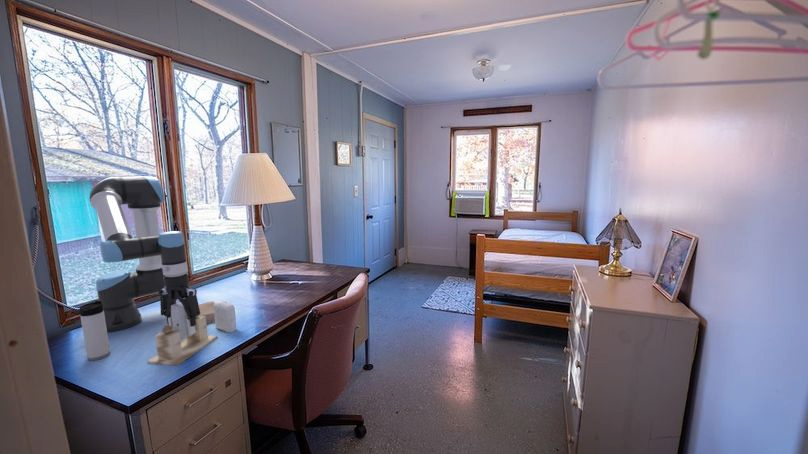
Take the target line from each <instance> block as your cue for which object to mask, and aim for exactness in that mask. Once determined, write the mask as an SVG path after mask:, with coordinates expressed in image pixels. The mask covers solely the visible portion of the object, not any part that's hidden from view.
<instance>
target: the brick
mask: <svg viewBox="0 0 808 454" xmlns="http://www.w3.org/2000/svg"><path fill="white" fill-rule="evenodd" d="M214 304H215V301H208V302H207V301H206V302H204V303H200V304H199V303H198V305H199V310H200V315H198V316H206V324H207V325H208V324H210V323H215V316H214Z"/></svg>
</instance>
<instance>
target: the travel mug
mask: <svg viewBox="0 0 808 454" xmlns="http://www.w3.org/2000/svg"><path fill="white" fill-rule="evenodd" d="M78 309H79V316H80V323H81V328H82V333H83V340H84V345H85V351H86V357H87V360H88V361H98V360H100V359H101V360H102V359H104V358H107V357H108V356H109V355H110V354H111V348H110V342H109V334H108V332H107V328H106V322H105V315H104V310H103V304H102V302H101V301H99V300H95V301H92V302H88V303H84V304H82V305H81V306H80V307H79V308H78Z"/></svg>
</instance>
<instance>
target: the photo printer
mask: <svg viewBox="0 0 808 454" xmlns="http://www.w3.org/2000/svg"><path fill="white" fill-rule="evenodd" d="M214 303H215V304H214V316H215V322H214V324H215V328H216V329H218V330H220V331H223V332H226V333H232V332H235V331H236V329H237V319H236V318H237V317H236V309H235V308H236V307H235V305H234V304H233V303H232V302H229V301H227V300H217V301H214Z"/></svg>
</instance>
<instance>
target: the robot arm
mask: <svg viewBox="0 0 808 454" xmlns="http://www.w3.org/2000/svg"><path fill="white" fill-rule="evenodd" d="M89 193H90V194H89V202H90V205H91V207H92V208H93V209H94V210H96V214H97V218H98V220H99V224H100V227H101V231H102V233H103V237H104V241H102V242H100V244H99V245H100V247H99V249H100V254H101V259H102V262H104V263H120V262H123V261H124V262H125V261H130V260H137V259H138V262H139V263H138V265H137V266H136V267H135V271H133V272H131V271H130V270H129V269H123V270H116V271H112V272H109V273H106V274H103V275H102V276H100V277H98V278H97V279H96V281H95V284H96V288H95V291H97V297H98V298H97V299H98V301H101V302H102V304H103V310H104V315H105V322H106V328H107V333H111V332H116V331H122V330H125V329H129V328H131V327H134V326H136V325H138V324H140V323H141V322H142V320H143V319H142V314H141V313H140V310H139V309H138V307H137V306H136V304H135V299H137V298H139V299H140V298H143V297H147V296H153V295H157V294H159V297H160V315H161V316H162V317H163V316H164V317H165V318H166V322H167V325H169V326H171V328H172V319H171V305H173V304H175V303H177V301H178V302H181V303H182V305H183V306H184V309H185V311H186V314H187V316H188V318H187V319H186V320H187V328H188V336H191V335H192V334H194V333H196V330H195V325H196V318H195V317H196V316H198V315H200V310H199V301H198V297H197V295H198V294H197V293H198V291H197V289H196V288H194V289H192V288H190V287H189V281H190V278H189V273H188V272H189V270H188V264H187V263H188V262H187V255H186V245H185V241H186V240H185V238H184V233H183V232H182V231H180V230H179V231H178V230H173V231H172V230H170V231H165V232H161V233H160V226H159V215H158V211H159V209H160V208H161V206H162V205H161V203H164V202H165V199H166V198H165V193H164V189H163V185H162V184H161V182H160V180H159V179H158V178H157V177H154V176H145V175H144V176H139V175H138V176H111V177H107V178H105V179H103V180H101V181H99V182H98V183H96V184H95V185H94V186H93V188H92V189H91V190H90V192H89ZM122 205H127V209H128V210H130V211H131V212H132V213H133V215H132V216H133V222H134V229H135V237H133V235H132V232H131V230H130V227H129V224H128V222H127V219H126V216H125V214H124V210H123V208H122ZM139 322H140V323H139ZM171 331H173V328H172V330H171Z"/></svg>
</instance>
